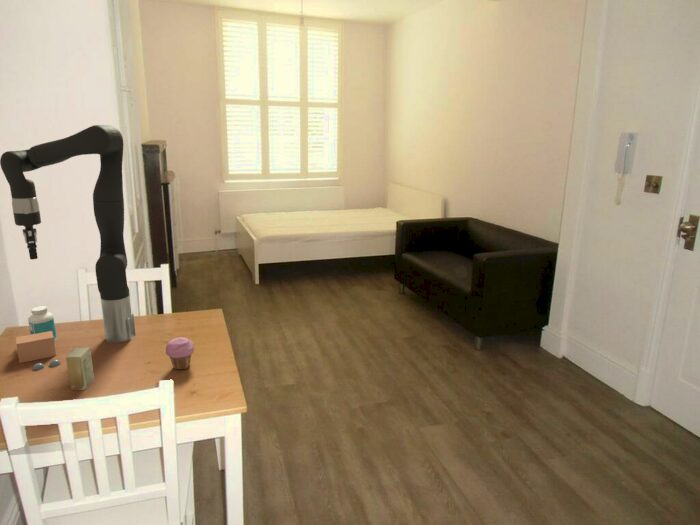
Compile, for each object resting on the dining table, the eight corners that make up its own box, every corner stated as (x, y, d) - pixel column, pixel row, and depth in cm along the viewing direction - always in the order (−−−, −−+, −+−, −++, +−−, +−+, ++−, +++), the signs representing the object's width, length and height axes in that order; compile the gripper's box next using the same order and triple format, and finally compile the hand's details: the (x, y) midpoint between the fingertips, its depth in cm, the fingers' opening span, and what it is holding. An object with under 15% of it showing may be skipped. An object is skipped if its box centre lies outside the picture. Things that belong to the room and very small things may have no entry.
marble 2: (62, 366, 153) (61, 357, 152) (58, 370, 150) (57, 362, 149) (52, 366, 152) (51, 358, 151) (48, 371, 149) (47, 362, 148)
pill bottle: (62, 340, 170) (56, 305, 167) (47, 349, 163) (41, 313, 160) (42, 338, 171) (37, 303, 167) (27, 347, 164) (21, 311, 160)
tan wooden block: (55, 352, 161) (52, 330, 159) (56, 359, 157) (53, 337, 154) (20, 359, 156) (16, 337, 154) (20, 367, 151) (16, 344, 149)
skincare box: (80, 383, 143) (75, 346, 139) (95, 383, 143) (90, 346, 140) (70, 395, 137) (64, 356, 133) (86, 394, 137) (80, 356, 134)
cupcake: (193, 372, 151) (191, 344, 148) (164, 374, 150) (162, 345, 147) (197, 359, 159) (195, 332, 157) (170, 361, 158) (168, 333, 155)
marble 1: (46, 369, 150) (45, 360, 149) (42, 374, 147) (41, 365, 147) (36, 369, 150) (35, 361, 149) (31, 374, 147) (30, 365, 146)
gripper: (13, 208, 165) (20, 252, 170) (13, 214, 154) (20, 262, 158) (38, 206, 169) (45, 250, 174) (40, 213, 158) (47, 259, 163)
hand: (33, 256), depth 166 cm, fingers open, 8 cm apart
